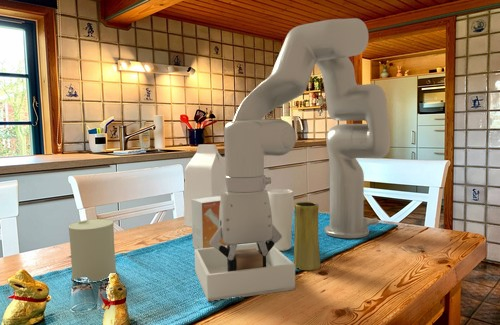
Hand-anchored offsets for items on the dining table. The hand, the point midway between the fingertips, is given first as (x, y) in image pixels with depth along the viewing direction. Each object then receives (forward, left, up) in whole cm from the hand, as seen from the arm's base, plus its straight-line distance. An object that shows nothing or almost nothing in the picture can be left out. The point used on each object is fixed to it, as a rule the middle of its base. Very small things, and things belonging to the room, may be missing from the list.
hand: (247, 274), depth 79 cm
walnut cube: (0, 0, -1) cm, 1 cm away
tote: (0, -4, -3) cm, 5 cm away
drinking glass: (-15, -21, -3) cm, 26 cm away
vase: (-16, -7, -3) cm, 18 cm away
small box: (+2, -28, -3) cm, 28 cm away
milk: (-2, -53, -3) cm, 53 cm away
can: (+30, -17, -3) cm, 35 cm away
